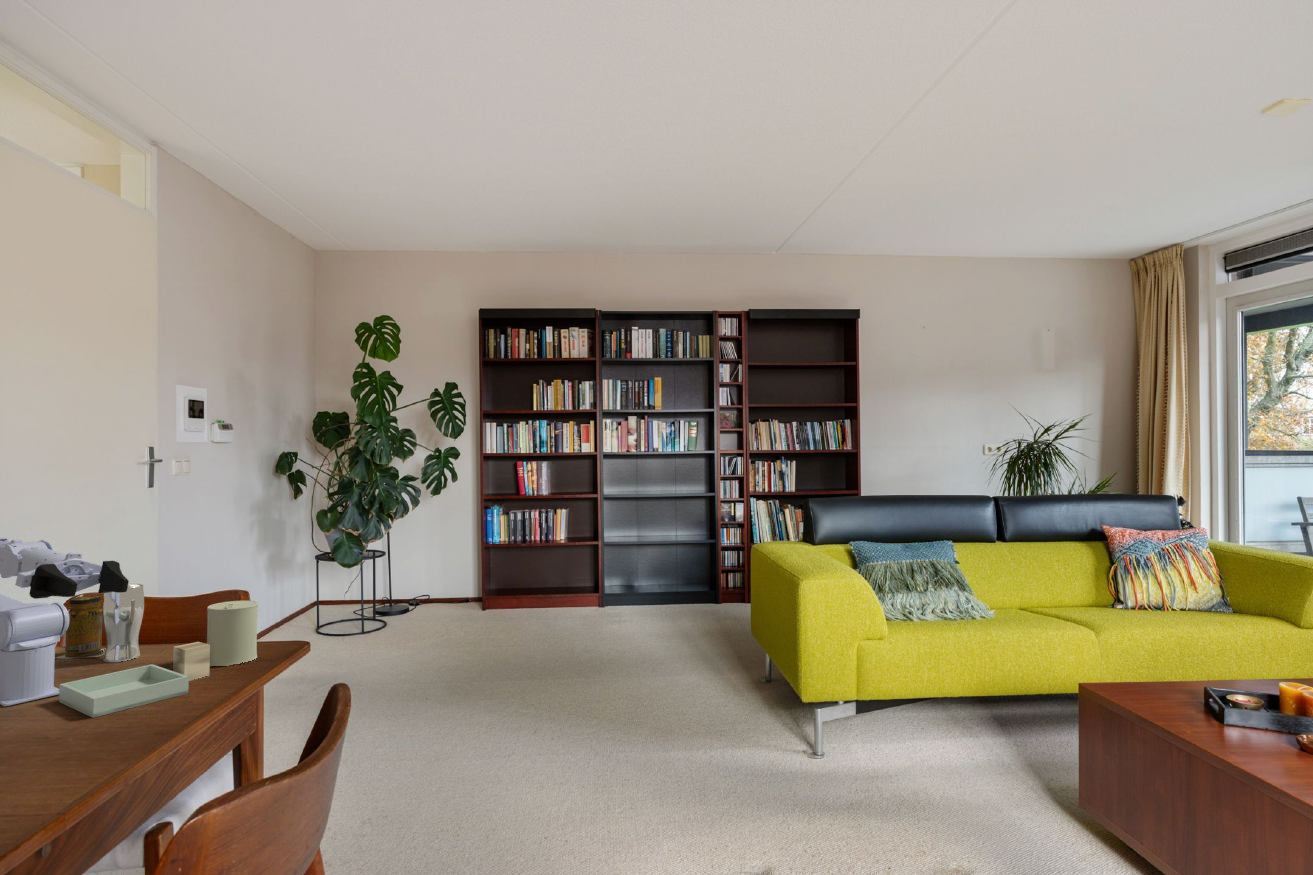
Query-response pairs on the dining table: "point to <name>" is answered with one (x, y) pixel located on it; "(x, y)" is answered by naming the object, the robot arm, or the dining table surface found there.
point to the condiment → (84, 628)
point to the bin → (122, 690)
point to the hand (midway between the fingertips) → (100, 588)
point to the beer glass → (123, 623)
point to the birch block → (192, 660)
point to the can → (232, 632)
